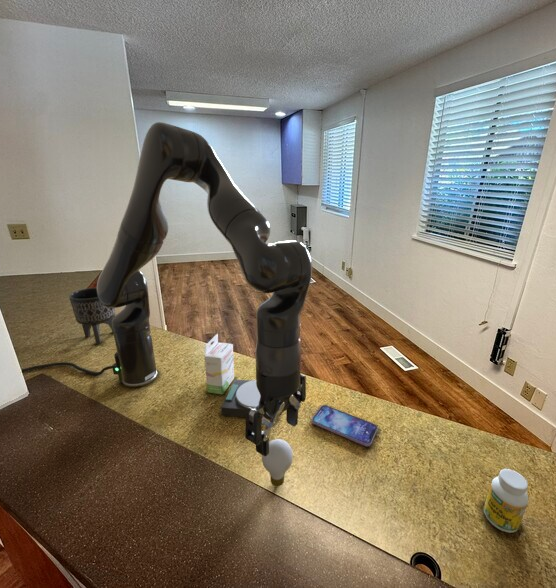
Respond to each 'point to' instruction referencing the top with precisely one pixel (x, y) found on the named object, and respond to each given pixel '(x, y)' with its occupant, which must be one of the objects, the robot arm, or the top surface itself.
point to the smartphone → (345, 425)
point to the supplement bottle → (507, 500)
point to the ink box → (218, 366)
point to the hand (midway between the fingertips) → (278, 437)
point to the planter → (91, 311)
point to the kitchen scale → (241, 398)
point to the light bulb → (278, 460)
